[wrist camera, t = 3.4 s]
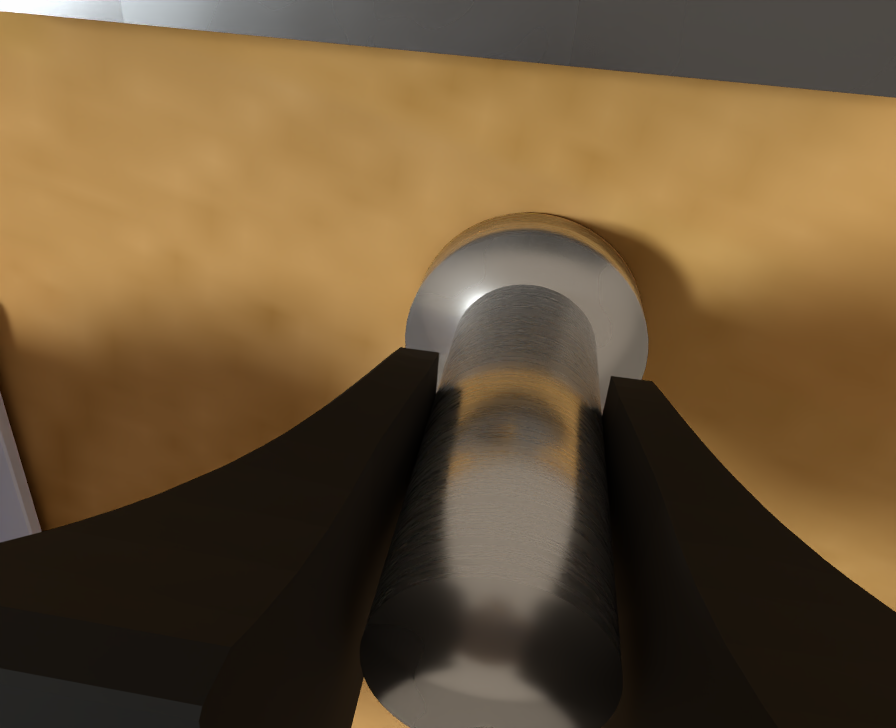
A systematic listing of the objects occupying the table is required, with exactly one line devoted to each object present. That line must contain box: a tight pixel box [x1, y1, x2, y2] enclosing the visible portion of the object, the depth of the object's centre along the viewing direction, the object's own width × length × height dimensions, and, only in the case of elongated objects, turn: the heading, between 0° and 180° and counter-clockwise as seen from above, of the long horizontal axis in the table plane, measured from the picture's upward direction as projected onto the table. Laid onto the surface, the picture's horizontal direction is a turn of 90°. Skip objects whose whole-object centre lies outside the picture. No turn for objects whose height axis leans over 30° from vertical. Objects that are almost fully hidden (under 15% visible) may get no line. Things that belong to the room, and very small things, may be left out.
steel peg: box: [359, 213, 648, 728], centre depth 10 cm, size 4×4×8 cm
